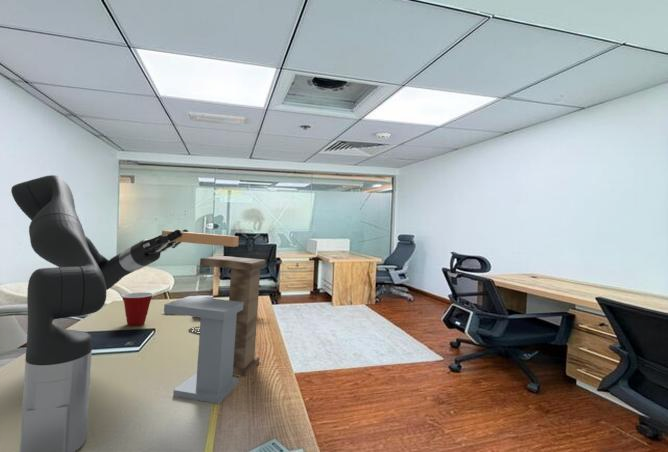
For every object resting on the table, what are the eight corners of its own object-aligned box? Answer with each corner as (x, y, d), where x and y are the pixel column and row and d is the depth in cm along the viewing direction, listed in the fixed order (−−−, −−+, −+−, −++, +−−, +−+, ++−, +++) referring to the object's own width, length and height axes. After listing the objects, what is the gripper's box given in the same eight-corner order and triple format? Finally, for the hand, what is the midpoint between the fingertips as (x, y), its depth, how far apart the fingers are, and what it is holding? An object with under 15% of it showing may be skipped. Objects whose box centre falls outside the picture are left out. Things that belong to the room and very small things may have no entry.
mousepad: (214, 328, 127) (214, 326, 127) (212, 335, 119) (212, 333, 119) (189, 328, 124) (189, 327, 124) (185, 335, 117) (186, 333, 117)
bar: (238, 246, 96) (238, 236, 96) (233, 246, 93) (234, 236, 93) (167, 239, 100) (168, 230, 100) (161, 240, 97) (161, 230, 97)
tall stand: (259, 361, 99) (265, 259, 99) (244, 376, 89) (252, 263, 89) (211, 354, 101) (218, 255, 101) (193, 368, 91) (200, 258, 91)
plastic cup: (151, 318, 132) (152, 289, 132) (152, 326, 123) (154, 295, 123) (119, 321, 126) (121, 291, 126) (119, 329, 117) (121, 297, 117)
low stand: (238, 383, 85) (243, 302, 85) (218, 404, 75) (224, 311, 75) (184, 374, 88) (189, 295, 87) (158, 393, 78) (164, 304, 78)
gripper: (116, 246, 94) (163, 220, 91) (151, 243, 108) (193, 221, 105) (126, 269, 93) (173, 244, 91) (160, 263, 107) (202, 242, 104)
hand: (183, 232), depth 98 cm, fingers closed on bar, 3 cm apart
